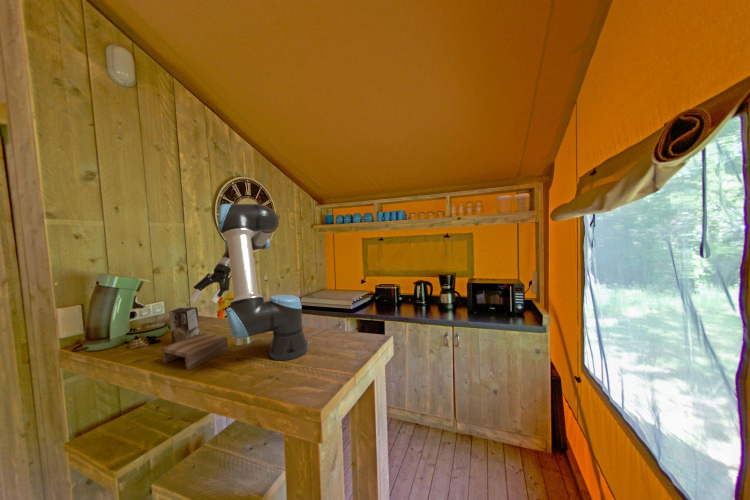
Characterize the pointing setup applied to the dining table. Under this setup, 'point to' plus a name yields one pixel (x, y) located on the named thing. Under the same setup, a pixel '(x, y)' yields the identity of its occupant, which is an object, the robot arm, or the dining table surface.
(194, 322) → the coffee box
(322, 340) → the dining table surface
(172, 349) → the walnut shelf
